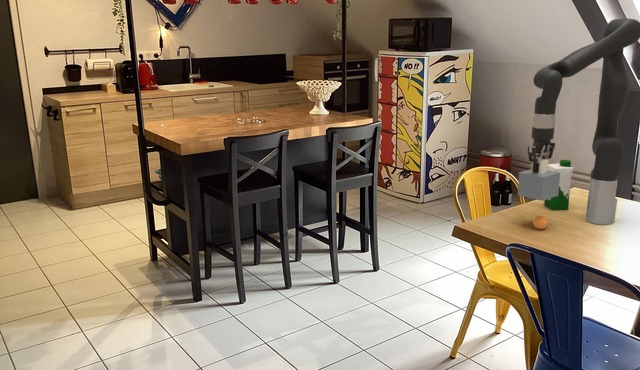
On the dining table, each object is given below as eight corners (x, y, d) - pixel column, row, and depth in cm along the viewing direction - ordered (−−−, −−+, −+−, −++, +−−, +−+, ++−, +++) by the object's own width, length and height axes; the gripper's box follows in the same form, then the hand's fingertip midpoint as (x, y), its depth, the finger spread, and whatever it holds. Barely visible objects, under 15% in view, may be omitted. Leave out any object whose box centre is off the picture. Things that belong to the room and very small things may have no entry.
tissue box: (534, 190, 214) (536, 155, 210) (558, 195, 206) (561, 159, 202) (517, 195, 208) (519, 159, 205) (541, 200, 200) (544, 163, 197)
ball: (545, 213, 209) (549, 226, 209) (531, 217, 211) (536, 230, 211) (545, 214, 205) (549, 227, 204) (531, 218, 207) (535, 231, 206)
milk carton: (571, 210, 228) (576, 163, 222) (550, 211, 227) (555, 164, 222) (560, 203, 236) (565, 158, 231) (540, 204, 235) (544, 159, 230)
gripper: (545, 122, 207) (541, 166, 212) (522, 126, 199) (518, 172, 204) (564, 124, 201) (559, 170, 206) (540, 129, 193) (536, 176, 198)
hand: (539, 171), depth 205 cm, fingers closed on tissue box, 4 cm apart
